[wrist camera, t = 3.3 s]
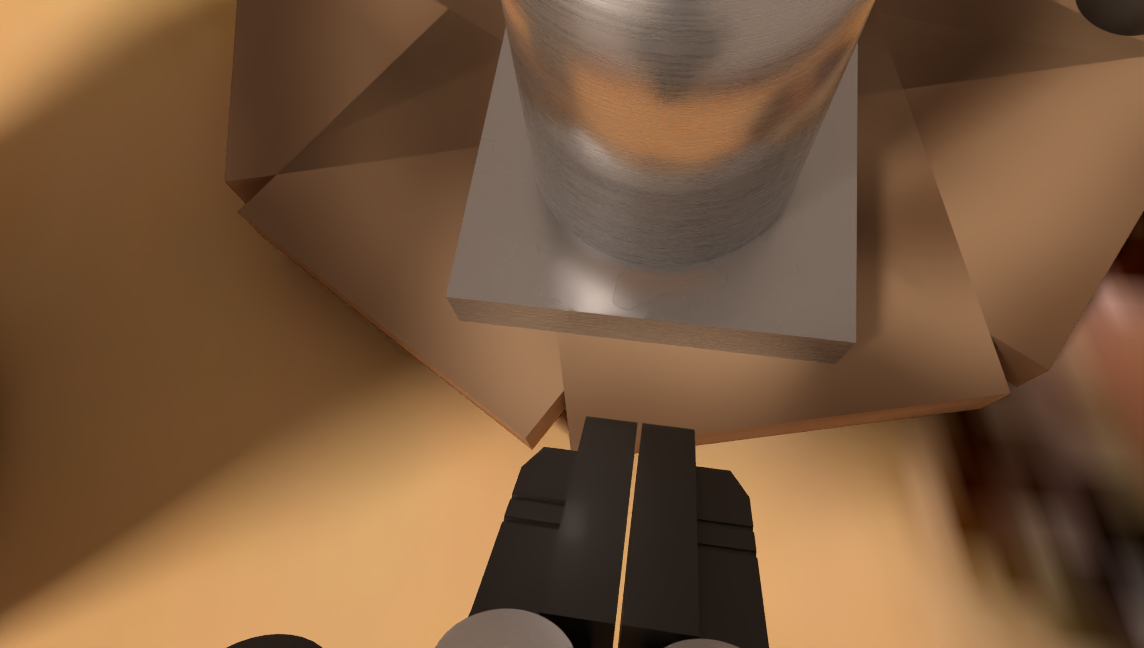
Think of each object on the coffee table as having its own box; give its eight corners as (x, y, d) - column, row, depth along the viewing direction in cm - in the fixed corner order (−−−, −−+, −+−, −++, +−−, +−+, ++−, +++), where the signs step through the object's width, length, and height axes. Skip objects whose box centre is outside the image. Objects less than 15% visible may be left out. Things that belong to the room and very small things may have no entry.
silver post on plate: (520, 32, 21) (424, -528, 10) (841, 54, 20) (1085, -538, 9) (459, 320, 17) (233, -71, 7) (836, 364, 16) (1194, -16, 6)
